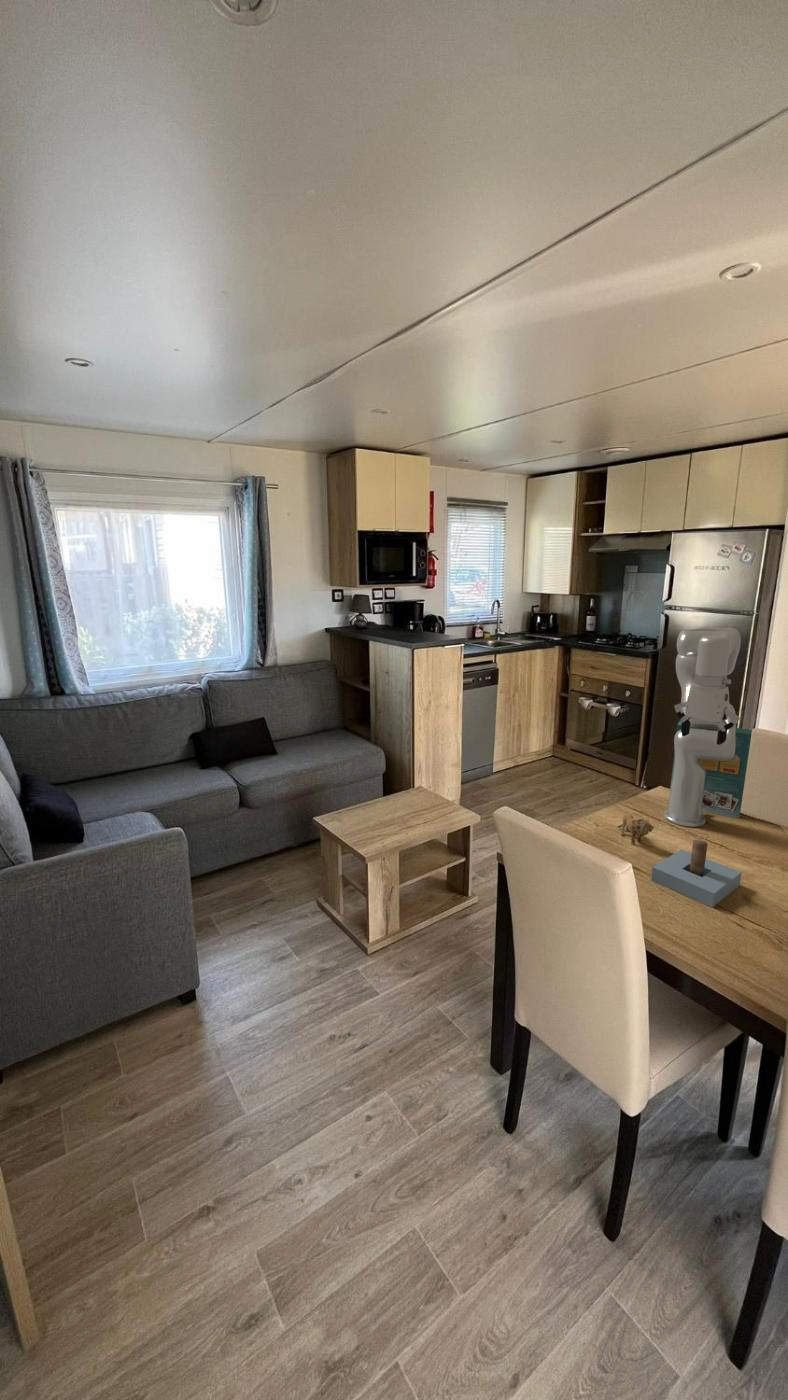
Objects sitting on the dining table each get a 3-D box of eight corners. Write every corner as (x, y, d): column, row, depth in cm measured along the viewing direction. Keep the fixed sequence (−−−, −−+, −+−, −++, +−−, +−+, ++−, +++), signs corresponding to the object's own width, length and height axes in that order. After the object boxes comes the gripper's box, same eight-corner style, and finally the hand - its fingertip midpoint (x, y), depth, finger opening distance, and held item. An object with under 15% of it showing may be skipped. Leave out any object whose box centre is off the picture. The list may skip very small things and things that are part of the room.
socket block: (680, 861, 163) (681, 849, 162) (739, 885, 151) (741, 872, 150) (651, 880, 154) (652, 867, 153) (712, 907, 142) (714, 893, 141)
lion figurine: (654, 848, 171) (657, 821, 169) (638, 850, 170) (641, 823, 168) (624, 827, 185) (626, 801, 183) (610, 829, 184) (612, 803, 182)
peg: (691, 878, 155) (696, 838, 152) (704, 883, 152) (709, 843, 149) (685, 882, 153) (690, 842, 150) (698, 888, 150) (703, 847, 147)
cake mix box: (740, 812, 195) (752, 729, 188) (739, 819, 191) (751, 734, 184) (670, 799, 207) (679, 720, 200) (668, 804, 202) (677, 724, 195)
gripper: (749, 683, 151) (741, 744, 155) (685, 673, 164) (678, 729, 169) (737, 688, 147) (728, 750, 151) (672, 677, 160) (665, 734, 164)
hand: (702, 739), depth 160 cm, fingers open, 9 cm apart
